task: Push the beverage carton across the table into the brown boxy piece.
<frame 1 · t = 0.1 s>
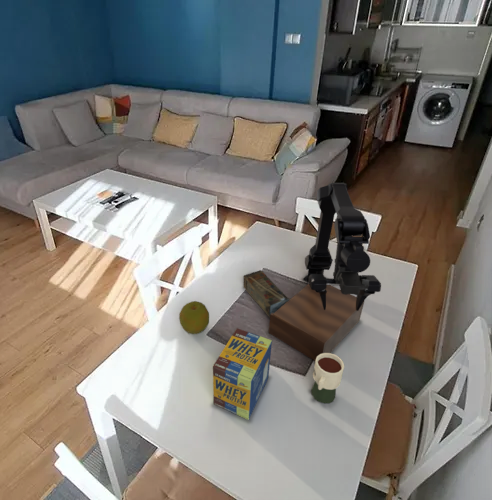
hand: (340, 309, 111), 15 cm above the table, tool pointing down, fingers open, 9 cm apart
protein box: (242, 391, 107), on the table
beverage carton: (264, 300, 139), on the table
apple: (195, 329, 128), on the table
character mug: (322, 395, 105), on the table
brown boxy piece: (314, 326, 127), on the table
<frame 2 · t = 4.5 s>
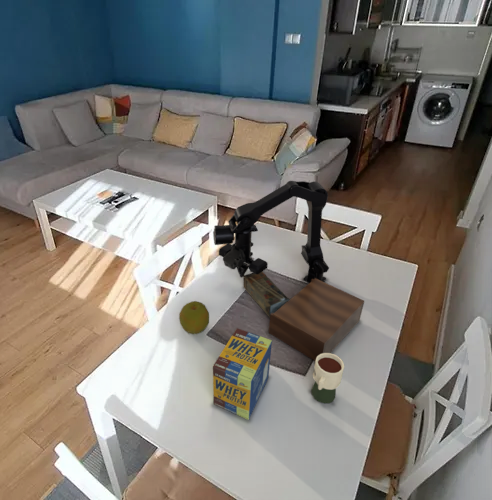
hand: (241, 276, 143), 5 cm above the table, tool pointing down, fingers closed
beverage carton: (264, 300, 139), on the table, touching gripper
everything else where it was.
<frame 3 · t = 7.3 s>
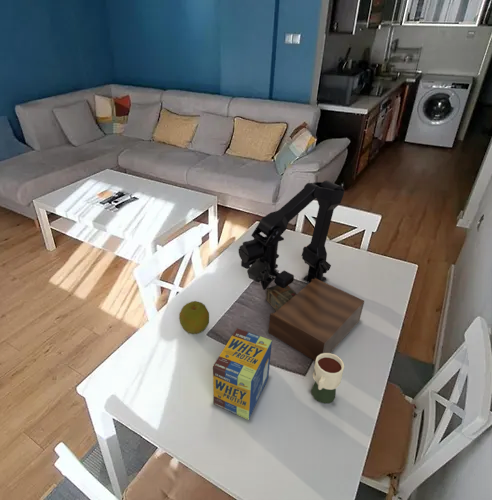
hand: (264, 289, 136), 5 cm above the table, tool pointing down, fingers closed
beverage carton: (289, 313, 133), on the table, touching gripper
everything else where it was.
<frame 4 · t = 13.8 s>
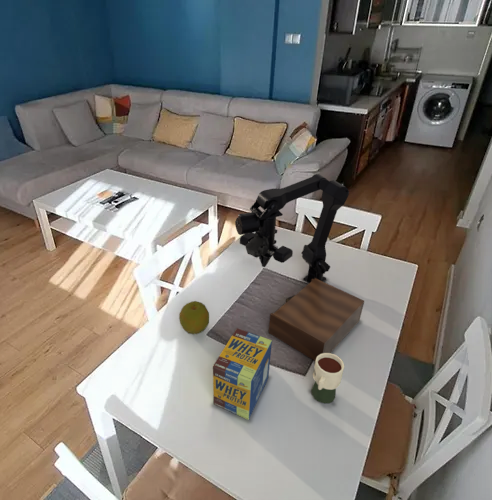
hand: (264, 266, 136), 12 cm above the table, tool pointing down, fingers closed
beverage carton: (310, 324, 128), on the table
everything else where it was.
at the end: beverage carton 0.5 cm from the target spot on the brown boxy piece, point 0.0 cm above the brown boxy piece's base; beverage carton moved 19.0 cm from its start; beverage carton tilted 0° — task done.
